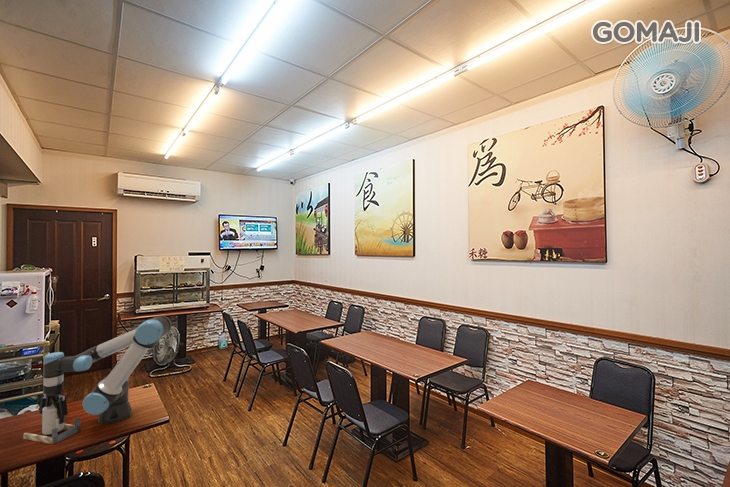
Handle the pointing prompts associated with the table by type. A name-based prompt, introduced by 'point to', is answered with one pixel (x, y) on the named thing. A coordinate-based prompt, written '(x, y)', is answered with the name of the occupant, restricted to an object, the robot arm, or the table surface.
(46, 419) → the cup
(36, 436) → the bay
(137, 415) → the table surface
